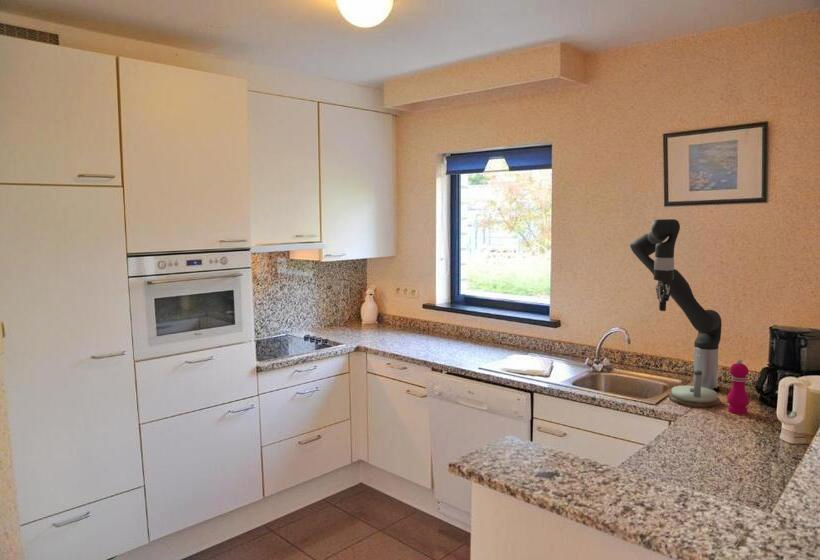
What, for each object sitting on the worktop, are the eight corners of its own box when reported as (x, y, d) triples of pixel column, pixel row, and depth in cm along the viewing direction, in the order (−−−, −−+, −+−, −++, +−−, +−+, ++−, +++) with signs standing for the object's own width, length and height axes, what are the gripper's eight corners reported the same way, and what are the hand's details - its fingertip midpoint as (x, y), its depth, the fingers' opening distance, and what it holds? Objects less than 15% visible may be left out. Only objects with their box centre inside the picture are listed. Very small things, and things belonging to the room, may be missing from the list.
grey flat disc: (662, 393, 243) (663, 389, 242) (708, 394, 241) (708, 390, 241) (678, 407, 225) (678, 403, 225) (727, 408, 223) (727, 403, 223)
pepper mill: (745, 409, 221) (747, 357, 219) (751, 415, 214) (753, 362, 212) (724, 407, 223) (726, 356, 221) (729, 414, 216) (731, 361, 214)
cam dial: (663, 395, 234) (664, 366, 233) (684, 388, 244) (685, 359, 243) (703, 405, 221) (704, 374, 220) (725, 397, 231) (726, 367, 230)
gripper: (649, 267, 244) (648, 308, 246) (659, 270, 231) (657, 313, 233) (668, 267, 243) (667, 308, 245) (679, 270, 230) (677, 313, 232)
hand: (662, 310), depth 239 cm, fingers closed
